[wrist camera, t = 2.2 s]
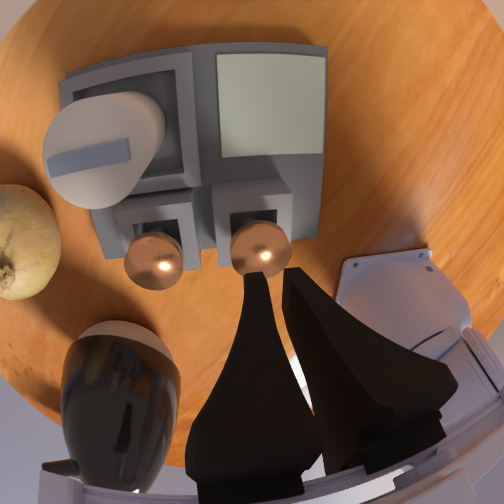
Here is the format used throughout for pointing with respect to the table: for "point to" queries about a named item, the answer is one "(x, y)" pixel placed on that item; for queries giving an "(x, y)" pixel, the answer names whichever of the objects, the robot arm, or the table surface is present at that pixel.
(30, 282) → the onion
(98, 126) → the disc
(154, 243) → the plunger
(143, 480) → the pump dispenser
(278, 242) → the plunger
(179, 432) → the table surface
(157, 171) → the housing
